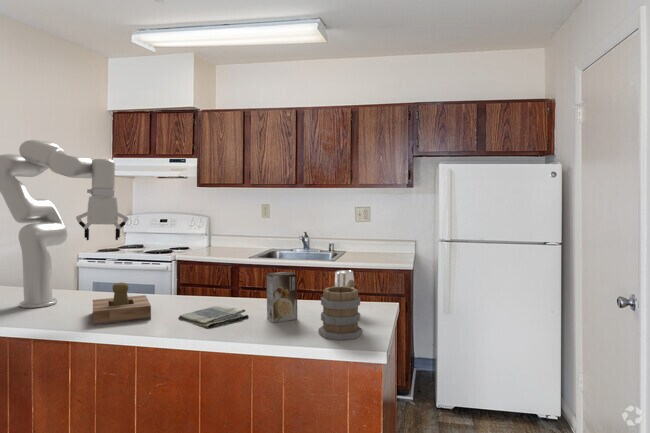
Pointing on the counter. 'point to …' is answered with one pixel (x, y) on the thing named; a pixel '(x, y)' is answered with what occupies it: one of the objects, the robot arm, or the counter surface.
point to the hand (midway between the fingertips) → (102, 239)
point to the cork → (120, 294)
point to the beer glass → (343, 277)
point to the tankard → (340, 312)
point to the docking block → (121, 310)
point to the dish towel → (214, 316)
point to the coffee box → (281, 296)
